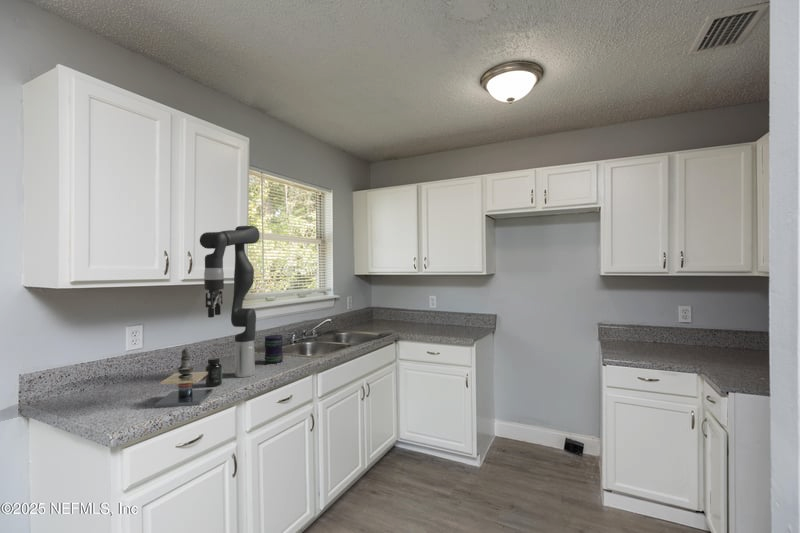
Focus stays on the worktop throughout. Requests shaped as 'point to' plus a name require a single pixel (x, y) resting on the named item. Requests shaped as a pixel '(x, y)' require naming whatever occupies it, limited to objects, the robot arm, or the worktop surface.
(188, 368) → the stone finial
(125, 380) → the worktop surface
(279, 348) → the storage jar
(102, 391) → the worktop surface
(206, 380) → the supplement bottle
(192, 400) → the stand
